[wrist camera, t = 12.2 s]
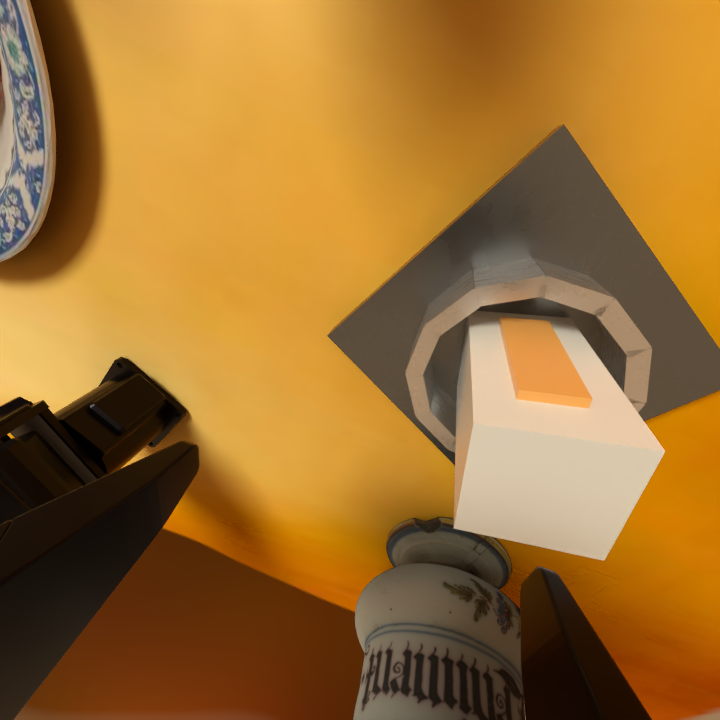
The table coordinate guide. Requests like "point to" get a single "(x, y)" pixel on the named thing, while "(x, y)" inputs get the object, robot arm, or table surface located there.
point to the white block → (545, 437)
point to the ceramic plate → (23, 129)
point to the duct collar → (532, 294)
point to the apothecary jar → (440, 629)
